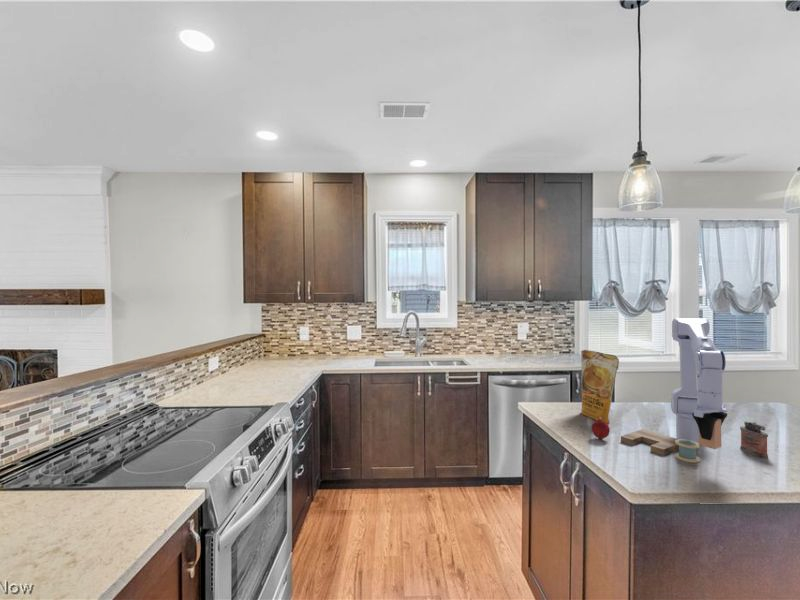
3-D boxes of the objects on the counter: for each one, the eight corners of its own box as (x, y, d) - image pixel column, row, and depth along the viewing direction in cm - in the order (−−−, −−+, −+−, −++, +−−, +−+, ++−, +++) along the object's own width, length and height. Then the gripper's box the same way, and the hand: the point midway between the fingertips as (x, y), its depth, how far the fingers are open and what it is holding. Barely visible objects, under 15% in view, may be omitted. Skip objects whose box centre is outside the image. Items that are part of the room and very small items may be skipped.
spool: (681, 452, 127) (681, 437, 127) (704, 459, 122) (703, 444, 122) (671, 457, 124) (670, 441, 124) (694, 464, 119) (694, 448, 119)
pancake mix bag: (587, 410, 175) (587, 349, 174) (620, 424, 156) (620, 355, 156) (574, 411, 173) (574, 349, 173) (606, 425, 155) (606, 355, 154)
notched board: (642, 434, 144) (642, 429, 144) (685, 446, 132) (685, 441, 132) (620, 441, 137) (620, 436, 137) (663, 455, 125) (663, 449, 125)
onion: (612, 443, 136) (611, 420, 136) (594, 441, 138) (594, 419, 137) (606, 437, 142) (606, 415, 142) (589, 436, 143) (589, 414, 143)
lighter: (737, 448, 130) (737, 419, 130) (746, 448, 131) (746, 418, 131) (761, 458, 122) (761, 427, 122) (771, 458, 123) (771, 426, 123)
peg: (705, 442, 116) (704, 415, 116) (721, 446, 113) (721, 419, 113) (698, 444, 114) (698, 417, 114) (714, 449, 111) (714, 421, 111)
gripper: (714, 397, 106) (714, 446, 106) (737, 390, 113) (737, 436, 114) (685, 392, 112) (685, 438, 112) (708, 386, 120) (709, 429, 120)
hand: (709, 437), depth 113 cm, fingers closed on peg, 4 cm apart
